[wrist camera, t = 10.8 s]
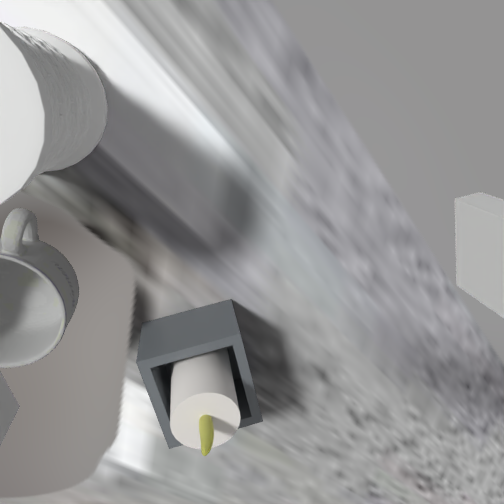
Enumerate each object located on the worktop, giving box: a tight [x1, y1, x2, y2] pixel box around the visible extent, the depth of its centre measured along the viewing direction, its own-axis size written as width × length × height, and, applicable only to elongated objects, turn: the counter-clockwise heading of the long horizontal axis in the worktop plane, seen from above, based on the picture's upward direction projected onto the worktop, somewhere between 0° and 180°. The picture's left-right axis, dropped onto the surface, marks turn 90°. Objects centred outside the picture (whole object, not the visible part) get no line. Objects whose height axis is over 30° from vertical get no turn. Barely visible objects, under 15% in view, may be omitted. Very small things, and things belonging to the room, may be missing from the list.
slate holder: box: [136, 299, 263, 449], centre depth 45 cm, size 11×10×7 cm
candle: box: [170, 347, 241, 456], centre depth 40 cm, size 6×6×15 cm
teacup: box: [0, 208, 79, 368], centre depth 38 cm, size 14×11×8 cm
